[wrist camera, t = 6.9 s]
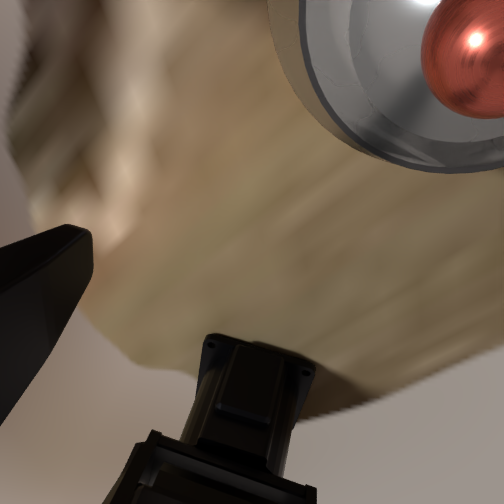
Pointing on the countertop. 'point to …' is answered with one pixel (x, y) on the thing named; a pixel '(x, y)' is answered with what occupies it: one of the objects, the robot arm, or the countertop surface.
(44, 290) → the robot arm
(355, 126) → the press pot
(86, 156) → the countertop surface
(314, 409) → the countertop surface
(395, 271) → the countertop surface
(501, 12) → the plunger
